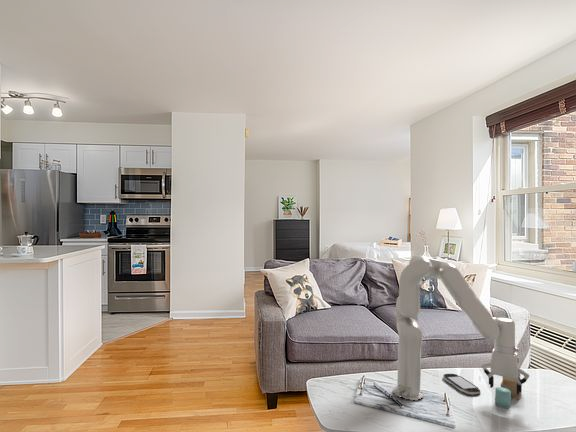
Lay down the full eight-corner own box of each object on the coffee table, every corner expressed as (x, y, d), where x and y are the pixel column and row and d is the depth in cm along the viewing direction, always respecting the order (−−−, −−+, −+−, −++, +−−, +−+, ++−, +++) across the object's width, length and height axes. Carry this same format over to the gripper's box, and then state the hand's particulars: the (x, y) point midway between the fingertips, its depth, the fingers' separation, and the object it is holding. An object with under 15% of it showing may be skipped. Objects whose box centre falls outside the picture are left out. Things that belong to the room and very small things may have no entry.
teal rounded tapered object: (509, 409, 152) (509, 394, 152) (493, 404, 155) (494, 390, 155) (511, 404, 156) (511, 390, 156) (496, 400, 160) (497, 385, 160)
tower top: (518, 387, 161) (518, 376, 161) (502, 383, 165) (502, 372, 165) (520, 383, 166) (520, 371, 166) (504, 379, 169) (504, 368, 169)
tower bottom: (518, 400, 160) (519, 388, 160) (500, 395, 165) (500, 383, 165) (521, 394, 166) (521, 383, 166) (503, 389, 170) (503, 378, 170)
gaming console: (439, 378, 181) (439, 373, 181) (456, 377, 183) (456, 372, 183) (466, 397, 162) (466, 391, 162) (484, 396, 164) (484, 390, 164)
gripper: (530, 350, 153) (530, 392, 153) (483, 342, 164) (483, 381, 164) (527, 355, 147) (528, 399, 147) (479, 346, 158) (479, 387, 158)
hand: (504, 389), depth 156 cm, fingers open, 9 cm apart
